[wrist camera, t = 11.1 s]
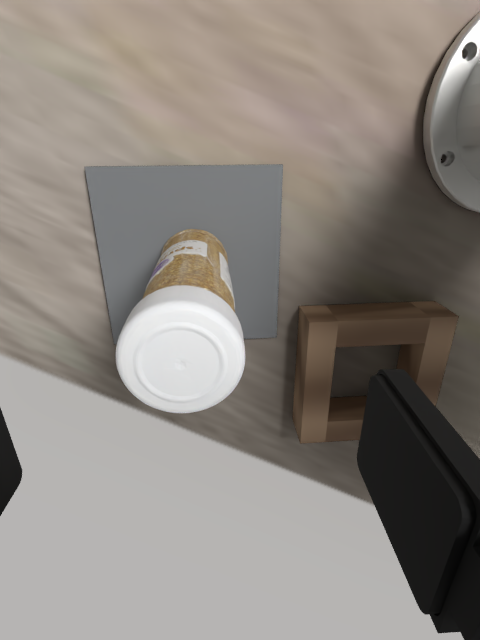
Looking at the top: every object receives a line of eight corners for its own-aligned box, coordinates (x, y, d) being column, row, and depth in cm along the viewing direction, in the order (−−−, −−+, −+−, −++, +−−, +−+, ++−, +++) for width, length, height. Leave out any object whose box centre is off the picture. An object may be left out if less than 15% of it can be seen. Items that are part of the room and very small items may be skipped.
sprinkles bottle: (175, 216, 23) (138, 281, 11) (239, 245, 25) (269, 333, 12) (151, 279, 25) (95, 396, 13) (212, 303, 26) (215, 433, 14)
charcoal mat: (87, 166, 22) (84, 166, 22) (281, 164, 23) (283, 164, 23) (116, 340, 27) (114, 344, 27) (275, 334, 28) (276, 337, 28)
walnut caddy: (299, 305, 27) (309, 322, 25) (434, 300, 28) (458, 316, 25) (292, 418, 32) (300, 443, 29) (409, 411, 32) (428, 435, 30)
